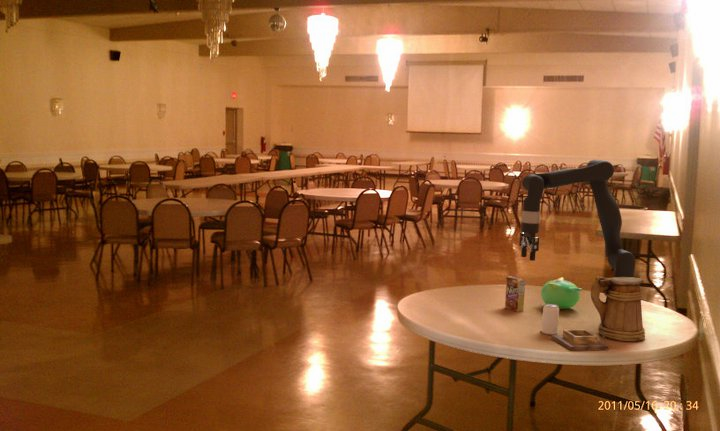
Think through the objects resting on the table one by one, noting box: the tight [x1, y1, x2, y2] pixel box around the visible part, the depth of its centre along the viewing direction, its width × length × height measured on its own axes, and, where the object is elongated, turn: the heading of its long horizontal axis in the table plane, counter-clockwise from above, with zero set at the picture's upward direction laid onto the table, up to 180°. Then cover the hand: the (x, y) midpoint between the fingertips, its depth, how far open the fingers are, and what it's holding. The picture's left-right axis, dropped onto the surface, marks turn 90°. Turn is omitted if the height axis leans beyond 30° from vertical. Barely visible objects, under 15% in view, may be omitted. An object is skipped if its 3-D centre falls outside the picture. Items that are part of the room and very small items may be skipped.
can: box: [541, 303, 560, 336], centre depth 293 cm, size 6×6×12 cm
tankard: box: [590, 276, 646, 342], centre depth 292 cm, size 18×24×25 cm
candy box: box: [504, 275, 526, 312], centre depth 331 cm, size 9×4×15 cm, turn 31°
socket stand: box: [551, 328, 609, 351], centre depth 279 cm, size 16×16×4 cm
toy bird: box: [540, 276, 583, 310], centre depth 337 cm, size 18×17×15 cm
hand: (527, 258), depth 302 cm, fingers open, 8 cm apart
